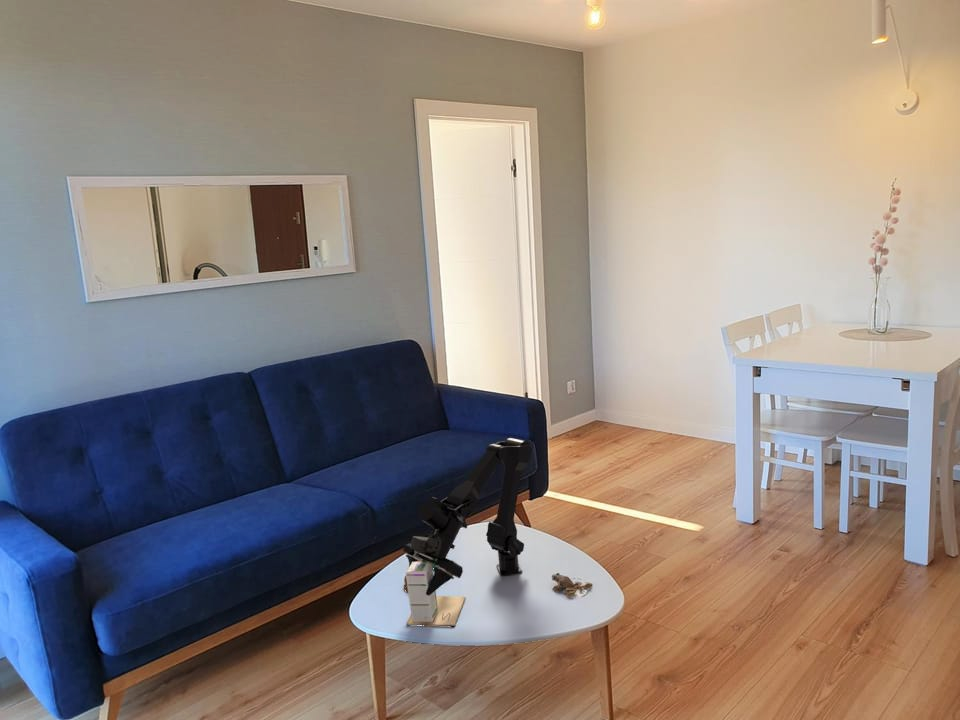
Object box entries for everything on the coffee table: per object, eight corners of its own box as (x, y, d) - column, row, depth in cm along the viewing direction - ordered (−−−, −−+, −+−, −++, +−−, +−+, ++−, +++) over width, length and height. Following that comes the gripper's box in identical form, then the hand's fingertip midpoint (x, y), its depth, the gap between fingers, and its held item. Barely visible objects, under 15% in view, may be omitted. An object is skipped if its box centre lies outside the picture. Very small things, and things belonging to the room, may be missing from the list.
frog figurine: (540, 595, 204) (539, 582, 203) (561, 576, 214) (560, 563, 213) (578, 605, 198) (577, 592, 197) (597, 584, 207) (596, 571, 206)
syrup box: (432, 622, 193) (427, 571, 190) (411, 622, 195) (405, 571, 192) (438, 611, 199) (432, 561, 196) (417, 610, 200) (411, 560, 197)
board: (406, 625, 194) (406, 623, 194) (420, 597, 208) (420, 595, 207) (454, 627, 192) (454, 624, 191) (465, 598, 205) (465, 596, 205)
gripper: (404, 515, 201) (376, 568, 196) (450, 532, 188) (421, 590, 183) (429, 531, 208) (402, 583, 203) (475, 549, 195) (448, 605, 189)
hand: (417, 590), depth 194 cm, fingers open, 8 cm apart
